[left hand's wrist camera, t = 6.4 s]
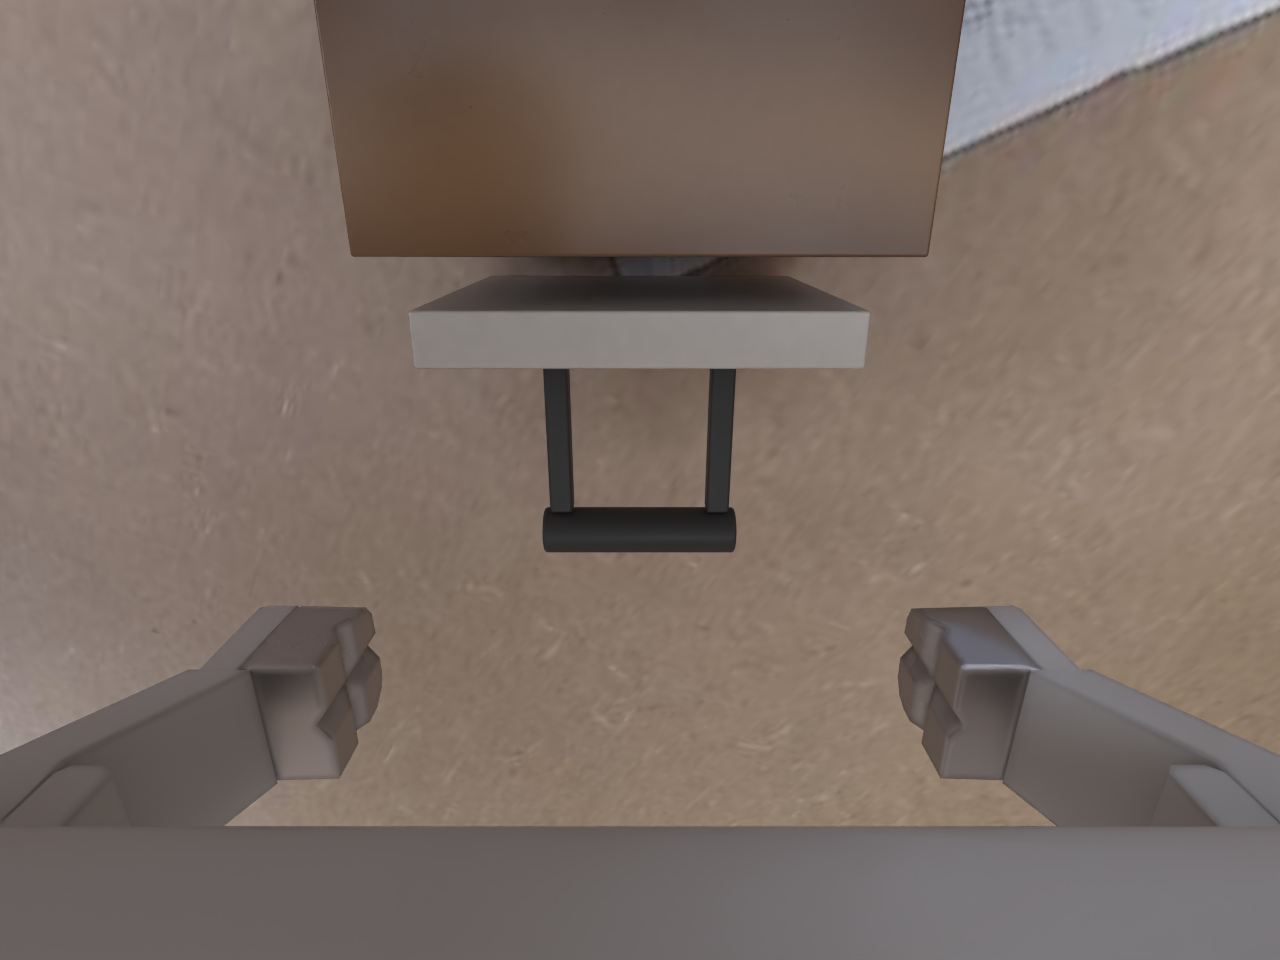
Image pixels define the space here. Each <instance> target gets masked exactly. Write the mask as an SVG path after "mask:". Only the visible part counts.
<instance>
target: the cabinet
mask: <svg viewBox="0 0 1280 960" xmlns="http://www.w3.org/2000/svg"><path fill="white" fill-rule="evenodd" d="M965 1H966V0H314V5H315V12H316V19H317V26H318V33H319V39H320V46H321V53H322V60H323V67H324V74H325V80H326V87H327V94H328V101H329V108H330V115H331V121H332V128H333V135H334V142H335V149H336V156H337V162H338V169H339V176H340V183H341V190H342V197H343V203H344V210H345V217H346V224H347V231H348V238H349V245H350V251H351V255H352V256H354V257H926V256H928V252H929V246H930V239H931V232H932V225H933V218H934V212H935V205H936V198H937V191H938V184H939V178H940V171H941V164H942V157H943V150H944V144H945V137H946V130H947V123H948V116H949V110H950V103H951V96H952V89H953V82H954V76H955V69H956V62H957V55H958V48H959V42H960V35H961V28H962V21H963V14H964V8H965Z"/></svg>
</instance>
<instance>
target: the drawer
mask: <svg viewBox="0 0 1280 960" xmlns="http://www.w3.org/2000/svg"><path fill="white" fill-rule="evenodd" d="M408 316H409V324H410V332H411V341H412V349H413V357H414V365H415V368H418V369H543V375H544V394H545V413H546V433H547V452H548V472H549V491H550V507H548V508H546V509H545V511H544V516H543V545H544V549H545V551H546V552H733V551H734V549H735V545H736V516H735V512H734V509H733V508H731V507H729V492H730V473H731V454H732V435H733V416H734V397H735V377H736V369H862V368H864V366H865V358H866V350H867V341H868V333H869V325H870V317H871V313H870V311H867V310H865V309H863V308H861V307H858V306H856V305H854V304H851V303H849V302H847V301H844V300H842V299H840V298H837V297H835V296H833V295H830V294H828V293H826V292H823V291H821V290H819V289H816V288H814V287H812V286H810V285H807V284H805V283H803V282H800V281H798V280H796V279H793V278H791V277H789V276H490V277H488V278H485V279H483V280H481V281H478V282H476V283H474V284H471V285H469V286H467V287H464V288H462V289H460V290H457V291H455V292H453V293H450V294H448V295H446V296H444V297H441V298H439V299H437V300H434V301H432V302H430V303H427V304H425V305H423V306H420V307H418V308H416V309H413V310H411V311H409V313H408ZM569 369H710V380H709V406H708V432H707V458H706V484H705V507H574V484H573V457H572V431H571V404H570V378H569Z"/></svg>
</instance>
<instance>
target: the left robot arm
mask: <svg viewBox="0 0 1280 960" xmlns="http://www.w3.org/2000/svg"><path fill="white" fill-rule="evenodd" d="M374 634H375V628H374V623H373V618H372V614H371V613H370V612H369V611H368V609H367V608H365V607H315V606H301V607H298V606H268V607H263V608H260V609H259V610H258V611H257V612H256V613H255V614H254V615H253V616H252V617H251V618H250V619H249V620H248V621H247V622H246V623H245V624H244V625H243V626H242V627H241V628H240V629H239V630H238V631H237V632H236V633H235V634H234V635H233V636H232V637H231V638H230V639H229V640H228V641H227V642H226V643H225V644H224V645H223V646H222V647H221V648H220V649H219V650H218V651H217V653H216V654H215V655H214V656H213V657H212V658H211V659H210V660H209V661H208V662H207V663H206V664H205V665H204V666H203V667H202V668H201V669H200V670H187V671H185V672H182V673H180V674H178V675H176V676H174V677H171V678H169V679H167V680H165V681H163V682H160V683H158V684H156V685H154V686H152V687H149V688H147V689H145V690H143V691H141V692H138V693H136V694H134V695H132V696H130V697H127V698H125V699H123V700H121V701H118V702H116V703H114V704H112V705H110V706H107V707H105V708H103V709H101V710H99V711H96V712H94V713H92V714H90V715H88V716H85V717H83V718H81V719H79V720H77V721H74V722H72V723H70V724H68V725H66V726H63V727H61V728H59V729H57V730H55V731H52V732H50V733H48V734H46V735H43V736H41V737H39V738H37V739H35V740H32V741H30V742H28V743H26V744H24V745H21V746H19V747H17V748H15V749H13V750H10V751H8V752H6V753H4V754H2V755H0V960H1280V755H1278V754H1276V753H1274V752H1271V751H1269V750H1267V749H1265V748H1263V747H1260V746H1258V745H1256V744H1254V743H1252V742H1249V741H1247V740H1245V739H1243V738H1241V737H1238V736H1236V735H1234V734H1232V733H1230V732H1227V731H1225V730H1223V729H1221V728H1219V727H1216V726H1214V725H1212V724H1210V723H1208V722H1205V721H1203V720H1201V719H1199V718H1197V717H1194V716H1192V715H1190V714H1188V713H1186V712H1183V711H1181V710H1179V709H1177V708H1175V707H1172V706H1170V705H1168V704H1166V703H1164V702H1161V701H1159V700H1157V699H1155V698H1153V697H1150V696H1148V695H1146V694H1144V693H1142V692H1139V691H1137V690H1135V689H1133V688H1131V687H1128V686H1126V685H1124V684H1122V683H1120V682H1117V681H1115V680H1113V679H1111V678H1109V677H1106V676H1104V675H1102V674H1100V673H1098V672H1095V671H1093V670H1080V669H1079V668H1078V667H1077V666H1076V665H1075V664H1074V663H1073V662H1072V661H1071V660H1070V659H1069V658H1068V657H1067V656H1066V654H1065V653H1064V652H1063V651H1062V650H1061V649H1060V648H1059V647H1058V646H1057V645H1056V644H1055V643H1054V642H1053V641H1052V640H1051V639H1050V638H1049V637H1048V636H1047V635H1046V634H1045V633H1044V632H1043V631H1042V630H1041V629H1040V628H1039V627H1038V626H1037V625H1036V624H1035V623H1034V622H1033V621H1032V620H1031V619H1030V618H1029V617H1028V615H1027V614H1026V613H1025V612H1024V611H1023V610H1022V609H1020V608H1017V607H1015V606H986V607H953V608H917V609H911V611H910V613H909V615H908V617H907V622H906V627H905V634H906V636H907V638H908V639H909V641H910V642H911V644H912V646H911V647H910V648H909V649H908V651H907V652H906V653H905V654H904V655H903V656H902V657H901V658H900V664H899V672H898V684H899V695H900V698H901V702H902V705H903V708H904V710H905V712H906V714H907V716H908V718H909V720H910V721H911V722H912V723H914V724H915V725H917V726H918V727H920V728H921V729H923V730H924V733H923V738H922V745H923V747H924V749H925V750H926V752H927V754H928V756H929V758H930V760H931V761H932V763H933V765H934V767H935V769H936V771H937V772H938V774H939V776H940V778H947V779H983V780H1003V784H1005V785H1006V786H1007V787H1008V788H1010V789H1011V790H1012V791H1013V792H1015V793H1016V794H1017V795H1018V796H1020V797H1021V798H1022V799H1023V800H1025V801H1026V802H1027V803H1029V804H1030V805H1031V806H1032V807H1034V808H1035V809H1036V810H1037V811H1039V812H1040V813H1041V814H1042V815H1044V816H1045V817H1046V818H1047V819H1049V820H1050V821H1051V822H1052V823H1054V824H1055V825H1056V826H224V825H225V824H227V823H228V822H229V821H230V820H232V819H233V818H234V817H235V816H237V815H238V814H239V813H240V812H242V811H243V810H244V809H245V808H247V807H248V806H249V805H250V804H252V803H253V802H254V801H256V800H257V799H258V798H259V797H261V796H262V795H263V794H264V793H266V792H267V791H268V790H269V789H271V788H272V787H273V786H274V785H276V784H277V780H296V779H332V778H340V776H341V774H342V773H343V771H344V769H345V767H346V765H347V763H348V762H349V760H350V758H351V756H352V754H353V752H354V750H355V749H356V747H357V745H358V738H357V733H356V730H357V729H359V728H360V727H362V726H363V725H365V724H366V723H368V722H369V721H370V720H371V718H372V716H373V714H374V712H375V710H376V708H377V706H378V701H379V697H380V693H381V688H382V670H381V663H380V658H379V657H378V656H377V655H376V654H375V653H374V652H373V651H372V650H371V648H370V647H369V646H368V644H369V642H370V641H371V639H372V638H373V636H374Z"/></svg>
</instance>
